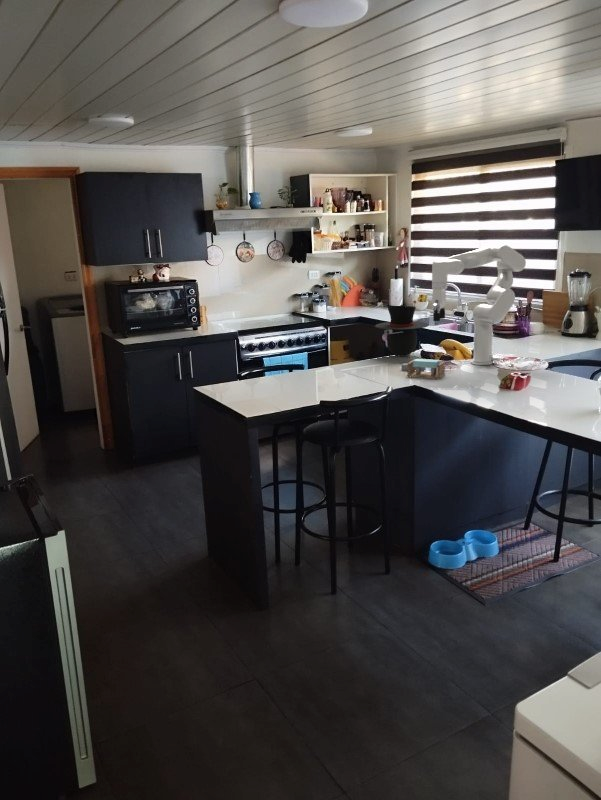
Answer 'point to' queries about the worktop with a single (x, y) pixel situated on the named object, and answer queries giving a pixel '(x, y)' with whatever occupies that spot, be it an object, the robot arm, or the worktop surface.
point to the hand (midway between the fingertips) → (439, 319)
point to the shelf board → (426, 363)
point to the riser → (405, 367)
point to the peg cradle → (435, 372)
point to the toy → (401, 330)
